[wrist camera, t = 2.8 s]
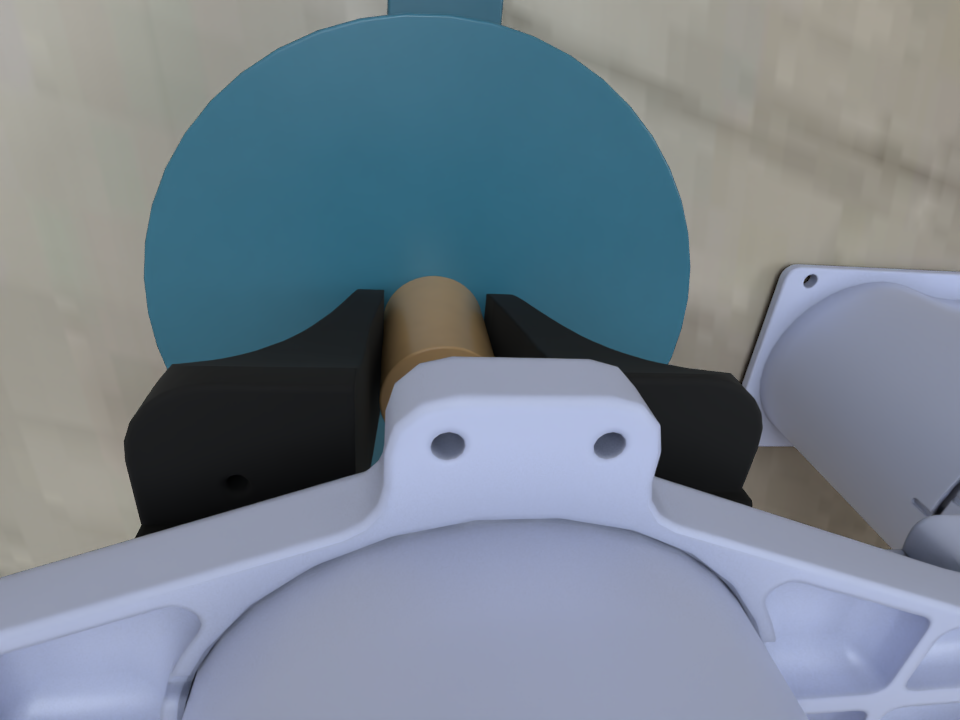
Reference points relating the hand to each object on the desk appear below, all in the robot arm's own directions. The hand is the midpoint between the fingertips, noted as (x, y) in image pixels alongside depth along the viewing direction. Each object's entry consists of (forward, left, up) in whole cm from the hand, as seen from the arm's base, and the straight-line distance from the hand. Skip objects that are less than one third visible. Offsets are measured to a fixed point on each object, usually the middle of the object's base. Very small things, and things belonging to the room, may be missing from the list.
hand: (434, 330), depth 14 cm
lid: (0, 0, -1) cm, 1 cm away
